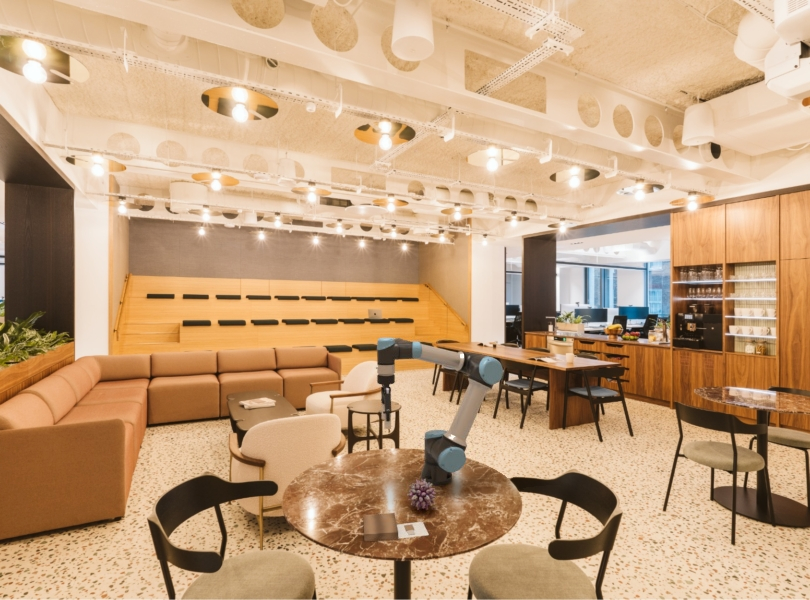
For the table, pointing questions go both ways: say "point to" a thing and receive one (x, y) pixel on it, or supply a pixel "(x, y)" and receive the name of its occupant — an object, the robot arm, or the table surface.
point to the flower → (421, 494)
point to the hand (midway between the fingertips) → (386, 423)
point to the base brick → (380, 527)
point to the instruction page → (411, 530)
